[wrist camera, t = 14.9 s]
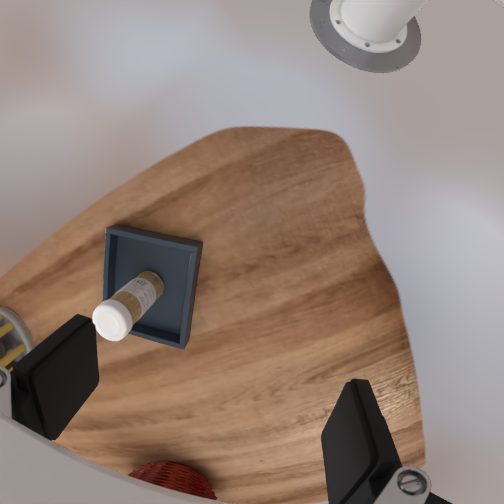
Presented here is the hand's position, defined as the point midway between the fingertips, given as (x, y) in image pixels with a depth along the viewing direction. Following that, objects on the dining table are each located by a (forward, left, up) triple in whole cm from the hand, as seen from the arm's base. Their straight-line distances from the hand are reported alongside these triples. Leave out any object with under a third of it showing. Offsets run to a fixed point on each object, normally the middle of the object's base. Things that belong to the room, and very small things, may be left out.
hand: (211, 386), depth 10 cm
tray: (+11, -14, -32) cm, 37 cm away
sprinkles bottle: (+11, -14, -32) cm, 36 cm away
